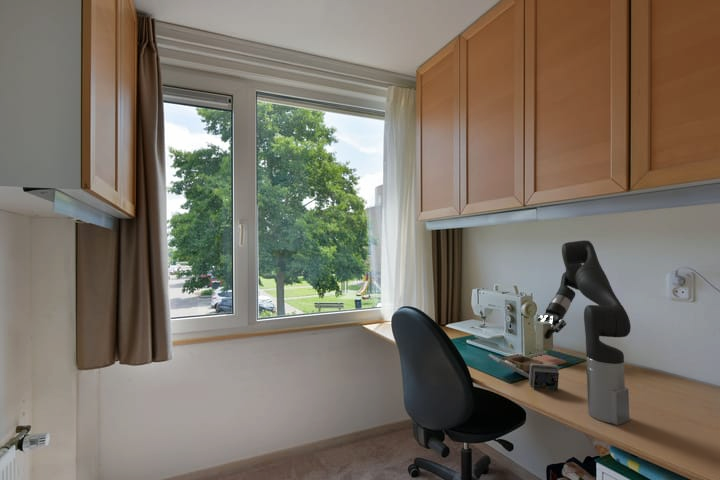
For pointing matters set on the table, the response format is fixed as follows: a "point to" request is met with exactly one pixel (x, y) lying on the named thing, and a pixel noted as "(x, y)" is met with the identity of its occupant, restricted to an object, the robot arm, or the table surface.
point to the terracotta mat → (549, 360)
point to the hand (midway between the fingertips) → (541, 336)
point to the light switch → (509, 365)
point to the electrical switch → (544, 377)
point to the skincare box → (543, 336)
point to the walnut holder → (521, 362)
